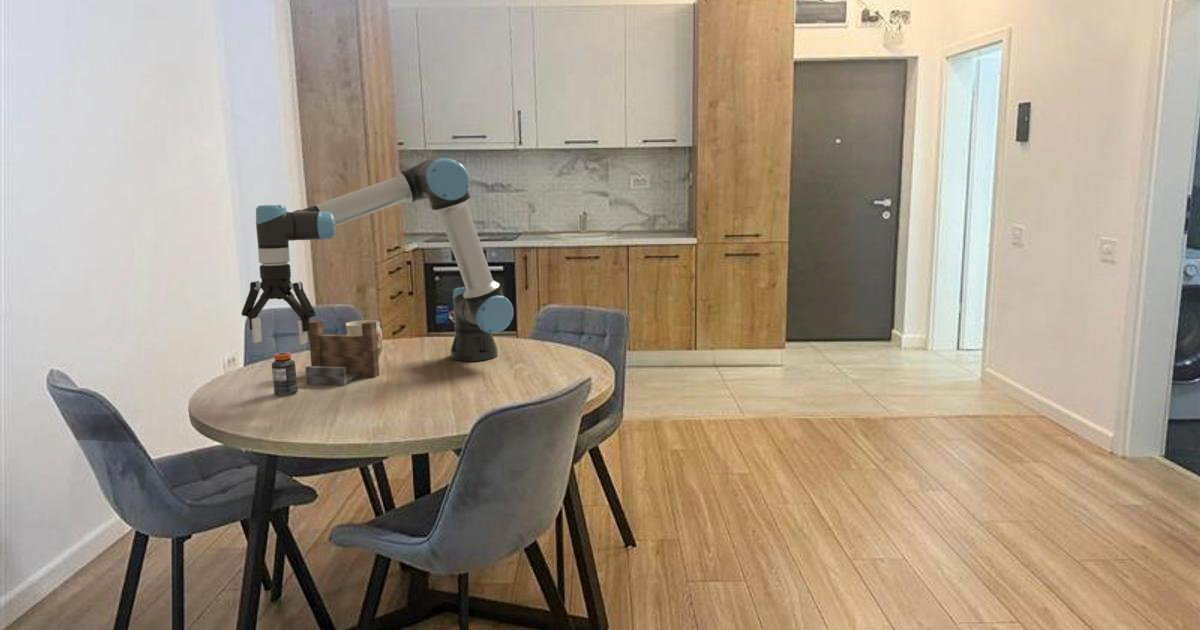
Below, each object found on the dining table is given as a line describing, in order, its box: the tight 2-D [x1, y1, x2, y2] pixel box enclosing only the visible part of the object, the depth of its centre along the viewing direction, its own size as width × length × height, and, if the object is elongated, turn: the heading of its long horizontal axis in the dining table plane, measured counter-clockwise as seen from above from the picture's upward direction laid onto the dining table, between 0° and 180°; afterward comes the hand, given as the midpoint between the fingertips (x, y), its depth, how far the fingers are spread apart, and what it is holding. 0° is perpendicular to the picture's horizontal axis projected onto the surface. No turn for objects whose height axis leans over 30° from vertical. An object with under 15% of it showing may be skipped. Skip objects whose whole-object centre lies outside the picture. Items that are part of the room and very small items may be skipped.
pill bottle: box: [271, 351, 299, 397], centre depth 211 cm, size 6×6×11 cm
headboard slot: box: [305, 320, 380, 387], centre depth 226 cm, size 20×13×16 cm, turn 80°
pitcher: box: [344, 319, 383, 360], centre depth 246 cm, size 11×18×14 cm, turn 164°
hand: (280, 342), depth 209 cm, fingers open, 13 cm apart
